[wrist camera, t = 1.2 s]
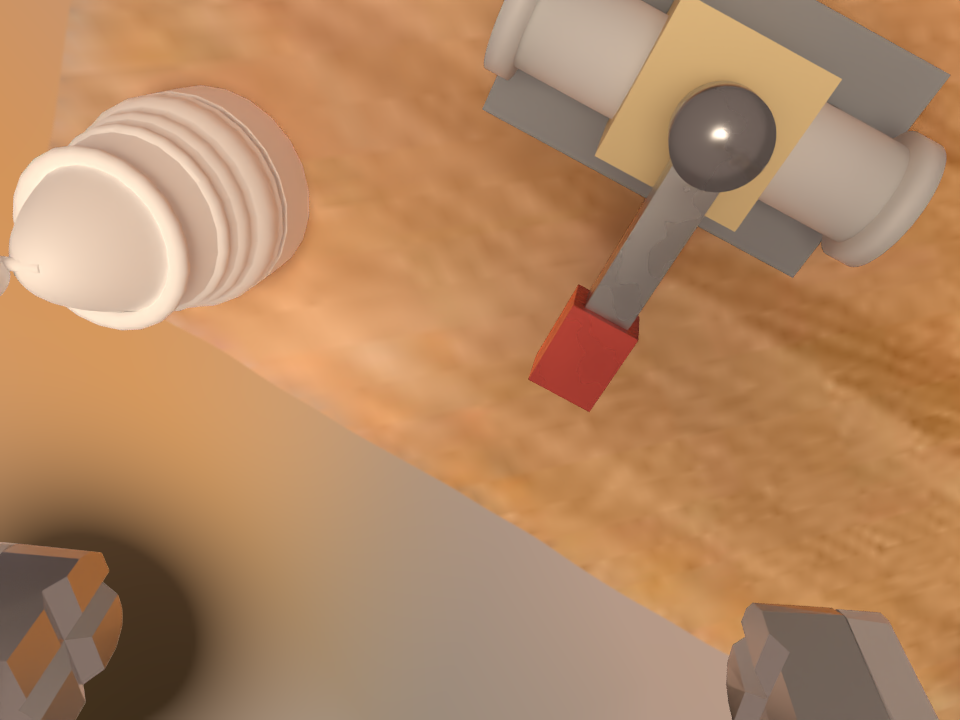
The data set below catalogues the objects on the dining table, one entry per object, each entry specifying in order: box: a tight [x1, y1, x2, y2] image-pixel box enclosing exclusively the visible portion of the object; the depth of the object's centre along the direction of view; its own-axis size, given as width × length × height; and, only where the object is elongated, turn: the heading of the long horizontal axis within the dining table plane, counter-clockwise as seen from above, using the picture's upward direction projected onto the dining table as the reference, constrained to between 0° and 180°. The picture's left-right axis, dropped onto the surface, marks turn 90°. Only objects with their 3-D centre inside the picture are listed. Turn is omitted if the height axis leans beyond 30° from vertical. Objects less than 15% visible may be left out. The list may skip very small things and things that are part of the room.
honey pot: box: [0, 85, 309, 330], centre depth 39 cm, size 13×13×18 cm
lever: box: [528, 81, 776, 412], centre depth 28 cm, size 14×4×2 cm, turn 155°
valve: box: [483, 0, 950, 278], centre depth 33 cm, size 20×12×13 cm, turn 65°
